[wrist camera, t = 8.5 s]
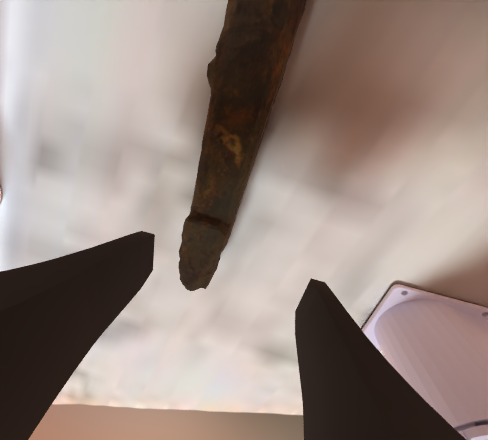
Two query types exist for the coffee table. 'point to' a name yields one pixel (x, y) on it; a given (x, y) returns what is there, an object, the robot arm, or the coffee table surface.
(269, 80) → the hand tool
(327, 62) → the coffee table surface
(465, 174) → the coffee table surface
